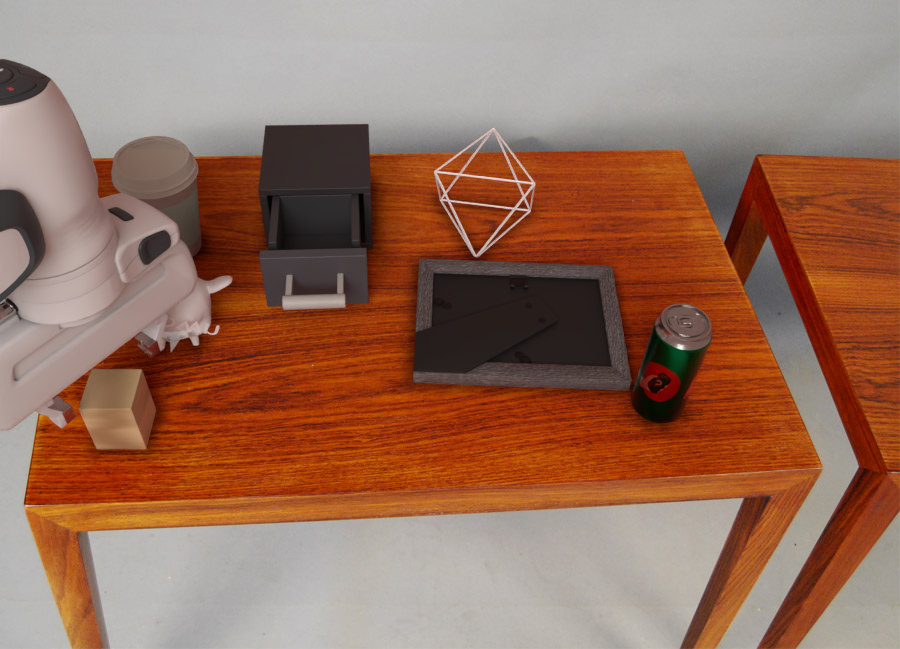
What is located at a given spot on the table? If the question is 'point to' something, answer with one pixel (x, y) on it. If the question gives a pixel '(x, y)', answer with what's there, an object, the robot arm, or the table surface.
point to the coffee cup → (162, 181)
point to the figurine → (193, 313)
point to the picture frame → (519, 325)
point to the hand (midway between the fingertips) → (109, 383)
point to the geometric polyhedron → (484, 204)
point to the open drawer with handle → (315, 253)
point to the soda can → (671, 363)
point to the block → (118, 408)
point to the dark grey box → (317, 166)
